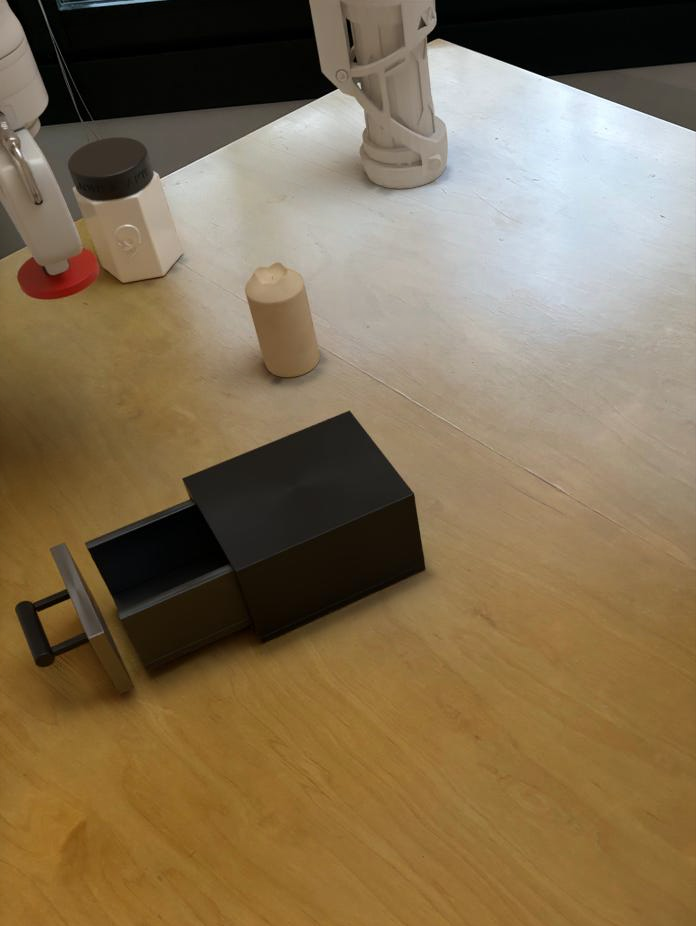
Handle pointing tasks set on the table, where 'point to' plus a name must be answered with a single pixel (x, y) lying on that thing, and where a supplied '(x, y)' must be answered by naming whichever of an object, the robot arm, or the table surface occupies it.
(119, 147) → the jar
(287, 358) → the candle
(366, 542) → the cabinet
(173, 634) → the drawer
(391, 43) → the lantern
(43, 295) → the lid
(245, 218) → the table surface
